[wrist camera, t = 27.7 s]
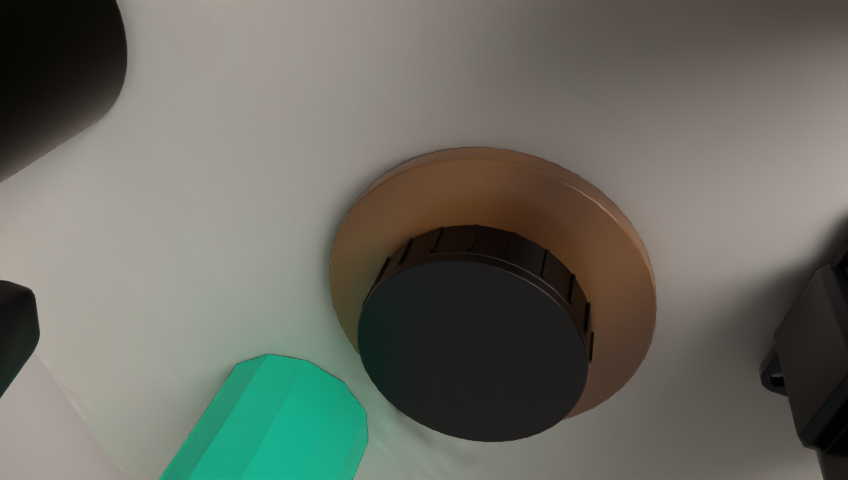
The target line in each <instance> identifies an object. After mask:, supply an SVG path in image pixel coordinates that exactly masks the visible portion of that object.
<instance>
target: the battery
mask: <svg viewBox="0 0 848 480" xmlns="http://www.w3.org/2000/svg"><path fill="white" fill-rule="evenodd" d="M126 67H127V43H126V35H125V29H124V25H123V21H122V17H121V14H120V10H119V7H118V5H117V2H116V0H0V183H1V182H3V181H4V180H6V179H8V178H9V177H11V176H12V175H14V174H15V173H17V172H19V171H20V170H22V169H23V168H25V167H26V166H28V165H30V164H31V163H33V162H34V161H36V160H37V159H39V158H40V157H42V156H44V155H45V154H47V153H48V152H50V151H51V150H53V149H55V148H56V147H58V146H59V145H61V144H62V143H64V142H65V141H67V140H69V139H70V138H72V137H73V136H75V135H76V134H78V133H79V132H81V131H83V130H84V129H86V128H87V127H89V126H90V125H92V124H93V123H95V122H96V121H98V120H99V119H100V118H102V117H103V116H104V115H105V114H106V113H107V112H108V111H109V110H110V109H111V107H112V106H113V104H114V103H115V101H116V100H117V98H118V96H119V94H120V92H121V89H122V86H123V83H124V79H125V74H126Z"/></svg>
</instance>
